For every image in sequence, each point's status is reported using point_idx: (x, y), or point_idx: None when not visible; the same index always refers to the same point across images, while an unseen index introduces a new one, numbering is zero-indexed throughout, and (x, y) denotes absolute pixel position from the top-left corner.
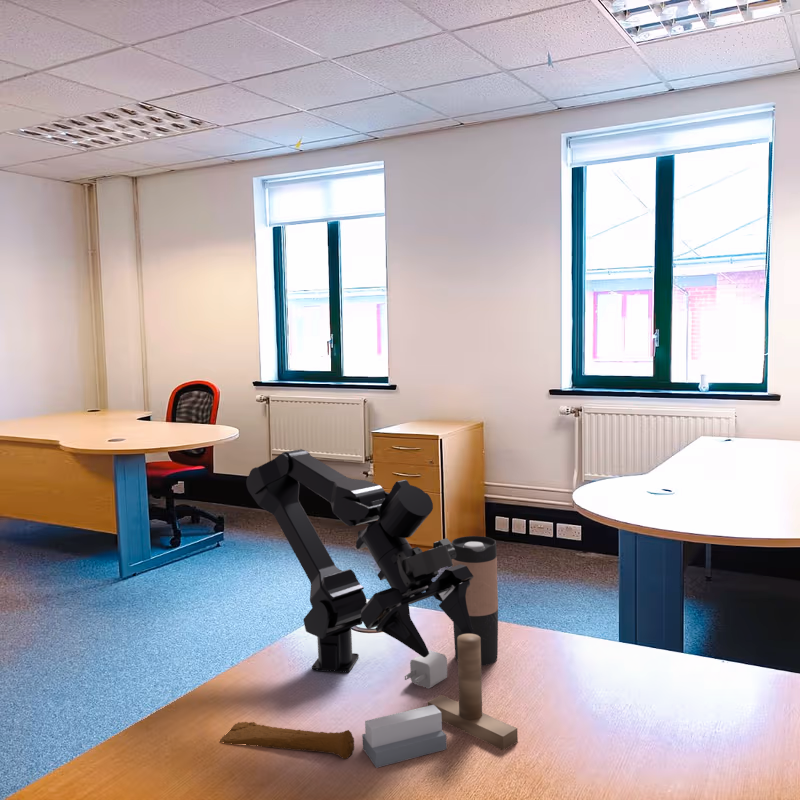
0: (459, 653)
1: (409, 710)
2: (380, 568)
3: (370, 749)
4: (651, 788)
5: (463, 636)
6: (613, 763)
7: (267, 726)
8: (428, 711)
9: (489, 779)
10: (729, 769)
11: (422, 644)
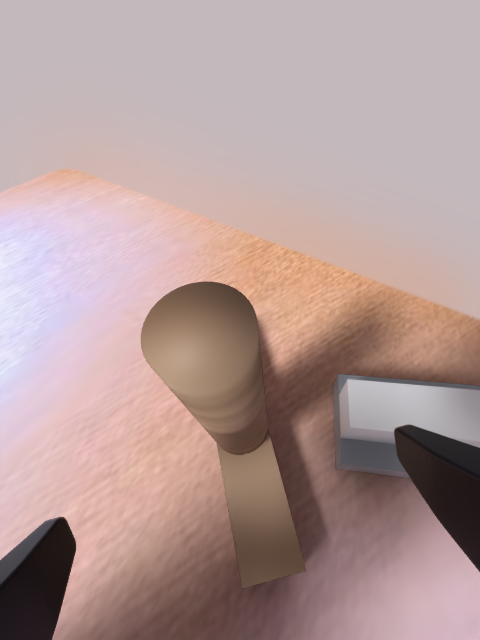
0: (260, 356)
1: None
2: None
3: None
4: (152, 205)
5: (206, 357)
6: (140, 247)
7: None
8: (379, 400)
9: (308, 284)
10: (62, 199)
11: (451, 443)
